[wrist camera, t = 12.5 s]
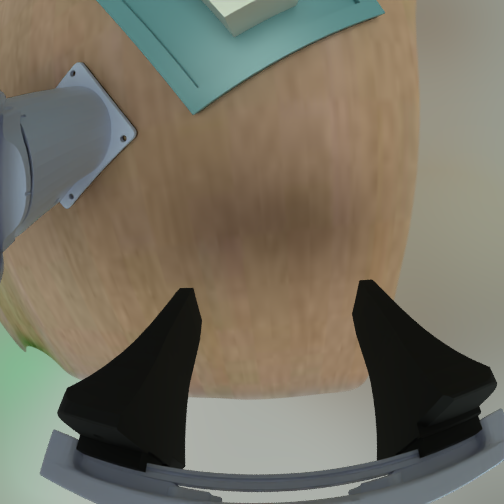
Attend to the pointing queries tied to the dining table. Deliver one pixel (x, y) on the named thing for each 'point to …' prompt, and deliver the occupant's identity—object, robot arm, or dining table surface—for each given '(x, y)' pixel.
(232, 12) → the white block with handle
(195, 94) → the tray
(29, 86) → the dining table surface
